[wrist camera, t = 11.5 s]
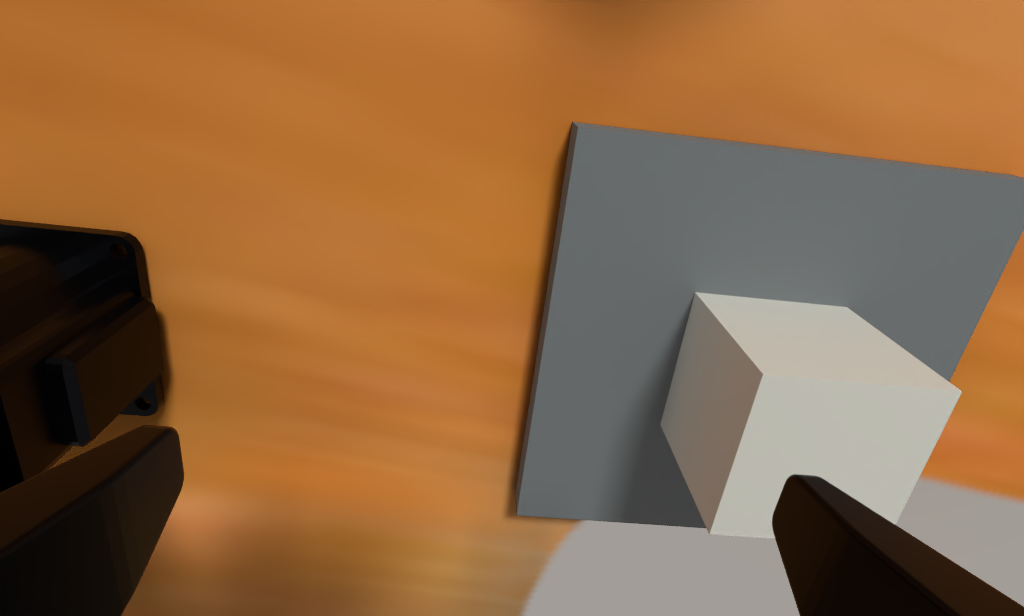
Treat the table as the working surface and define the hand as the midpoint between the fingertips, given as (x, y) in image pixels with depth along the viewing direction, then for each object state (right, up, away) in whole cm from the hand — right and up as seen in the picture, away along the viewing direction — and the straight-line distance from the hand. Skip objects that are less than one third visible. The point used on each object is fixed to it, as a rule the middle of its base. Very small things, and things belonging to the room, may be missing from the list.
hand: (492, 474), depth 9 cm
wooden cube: (+8, 0, +11) cm, 14 cm away
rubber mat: (+8, +1, +12) cm, 15 cm away
